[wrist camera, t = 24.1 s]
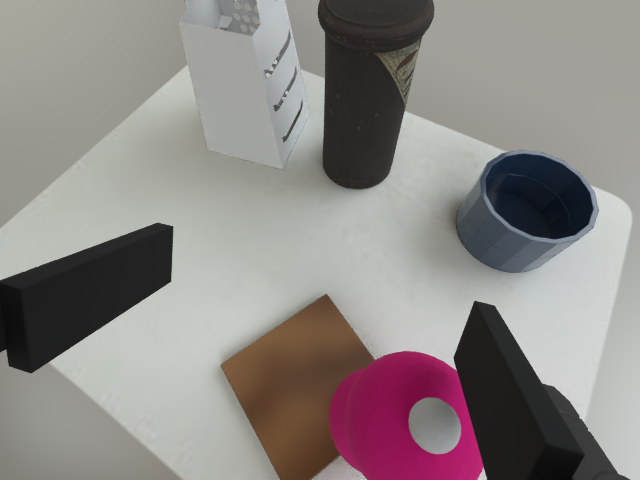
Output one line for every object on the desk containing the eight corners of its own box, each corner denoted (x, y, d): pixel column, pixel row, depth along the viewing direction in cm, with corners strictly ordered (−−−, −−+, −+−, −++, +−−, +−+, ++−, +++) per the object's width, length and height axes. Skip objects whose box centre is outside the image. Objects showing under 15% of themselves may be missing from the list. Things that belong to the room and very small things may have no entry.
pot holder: (403, 401, 31) (405, 401, 30) (290, 495, 28) (289, 497, 27) (326, 296, 35) (326, 293, 34) (222, 366, 32) (219, 365, 31)
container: (395, 191, 41) (450, 20, 23) (321, 193, 41) (319, 25, 23) (387, 137, 45) (428, -44, 27) (319, 139, 45) (315, -41, 27)
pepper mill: (311, 429, 29) (289, 457, 11) (356, 356, 31) (398, 282, 14) (386, 489, 27) (507, 641, 9) (427, 405, 29) (584, 395, 12)
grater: (241, 96, 49) (193, -86, 31) (310, 112, 47) (301, -70, 29) (207, 149, 44) (129, -28, 27) (282, 169, 43) (251, -5, 25)
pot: (573, 239, 38) (622, 204, 32) (507, 291, 35) (547, 265, 29) (499, 176, 42) (530, 134, 36) (436, 219, 39) (457, 182, 33)
